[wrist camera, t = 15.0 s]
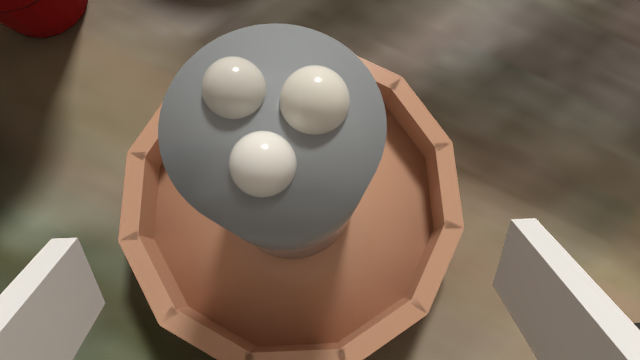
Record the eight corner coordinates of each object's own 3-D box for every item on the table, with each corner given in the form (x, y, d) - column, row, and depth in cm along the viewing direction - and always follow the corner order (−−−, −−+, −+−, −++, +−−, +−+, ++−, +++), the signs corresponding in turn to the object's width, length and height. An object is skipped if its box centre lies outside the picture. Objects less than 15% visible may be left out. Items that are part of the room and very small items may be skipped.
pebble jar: (231, 261, 21) (130, 234, 10) (234, 144, 23) (152, 2, 11) (356, 256, 21) (405, 225, 10) (348, 141, 23) (383, -4, 12)
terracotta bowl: (133, 368, 21) (103, 382, 18) (158, 74, 25) (137, 47, 22) (460, 354, 21) (483, 365, 18) (424, 67, 26) (438, 40, 23)
